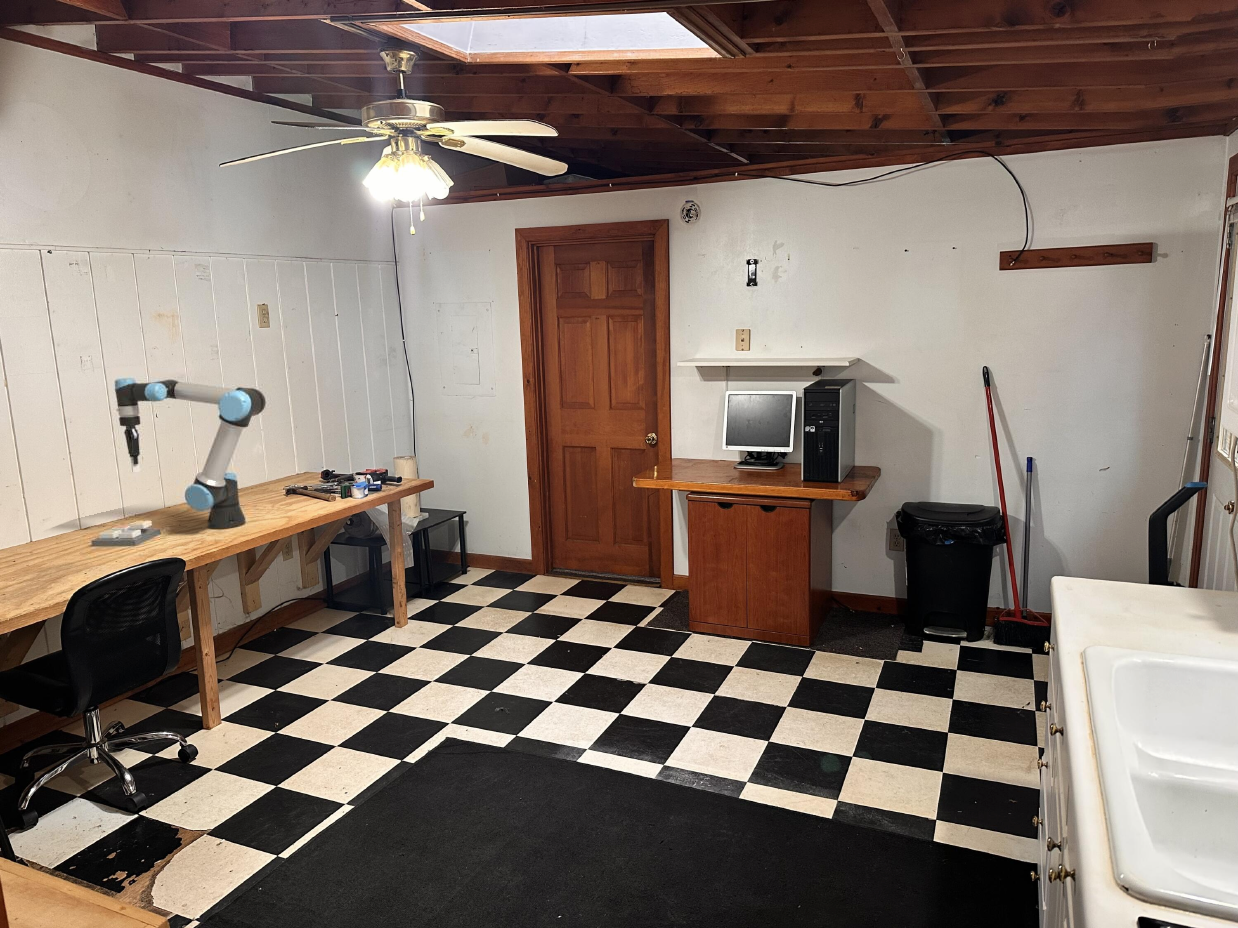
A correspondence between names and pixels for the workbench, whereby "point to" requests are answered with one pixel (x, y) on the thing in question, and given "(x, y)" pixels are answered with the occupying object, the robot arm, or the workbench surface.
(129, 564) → the workbench surface
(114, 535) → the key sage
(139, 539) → the keypad board
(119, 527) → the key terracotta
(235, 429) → the robot arm
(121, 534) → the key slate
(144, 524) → the cream key cap
